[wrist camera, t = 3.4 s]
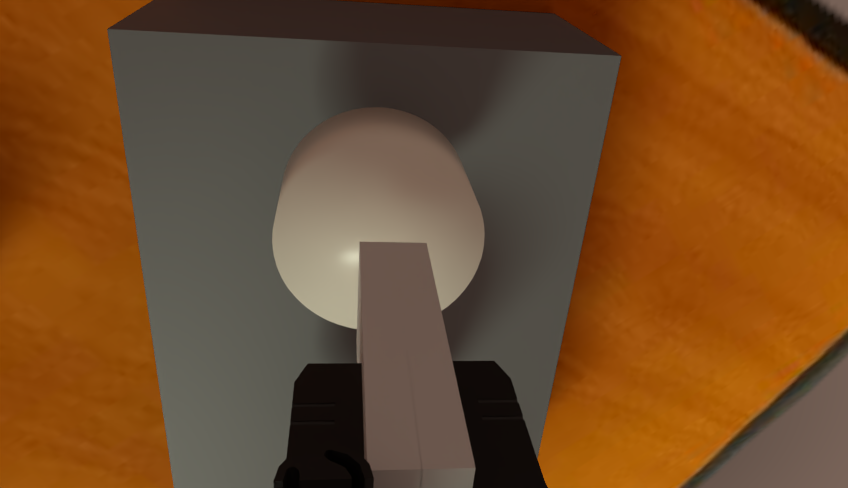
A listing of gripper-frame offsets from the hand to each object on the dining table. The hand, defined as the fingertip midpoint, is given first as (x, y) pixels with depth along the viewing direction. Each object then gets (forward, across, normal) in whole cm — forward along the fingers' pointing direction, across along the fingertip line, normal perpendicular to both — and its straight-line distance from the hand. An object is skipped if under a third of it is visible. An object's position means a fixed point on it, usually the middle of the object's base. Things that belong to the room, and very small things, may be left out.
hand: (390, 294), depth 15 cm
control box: (+16, 0, +10) cm, 19 cm away
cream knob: (+10, 0, 0) cm, 10 cm away
